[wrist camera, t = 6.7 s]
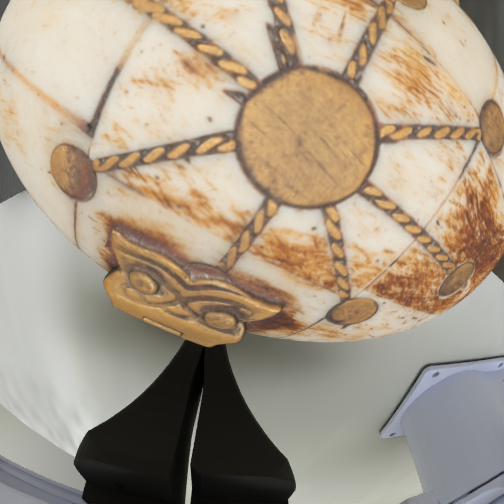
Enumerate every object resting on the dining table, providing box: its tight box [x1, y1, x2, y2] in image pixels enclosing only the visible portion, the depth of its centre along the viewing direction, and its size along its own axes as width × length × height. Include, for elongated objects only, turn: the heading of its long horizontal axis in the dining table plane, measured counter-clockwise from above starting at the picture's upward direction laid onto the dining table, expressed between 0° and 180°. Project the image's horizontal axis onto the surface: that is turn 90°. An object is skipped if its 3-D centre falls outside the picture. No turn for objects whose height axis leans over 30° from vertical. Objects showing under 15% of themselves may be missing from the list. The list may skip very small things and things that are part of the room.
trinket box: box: [0, 0, 504, 347], centre depth 7 cm, size 13×15×8 cm
